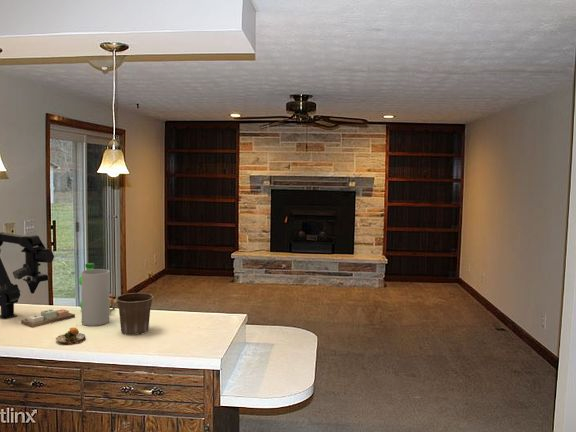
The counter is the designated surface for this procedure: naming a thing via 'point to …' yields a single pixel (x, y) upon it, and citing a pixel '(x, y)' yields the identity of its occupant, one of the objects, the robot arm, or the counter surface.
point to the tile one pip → (35, 318)
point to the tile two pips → (48, 314)
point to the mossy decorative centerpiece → (71, 337)
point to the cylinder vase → (95, 297)
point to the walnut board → (47, 320)
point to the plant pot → (134, 312)
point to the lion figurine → (111, 303)
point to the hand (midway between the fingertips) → (32, 293)
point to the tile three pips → (62, 312)
